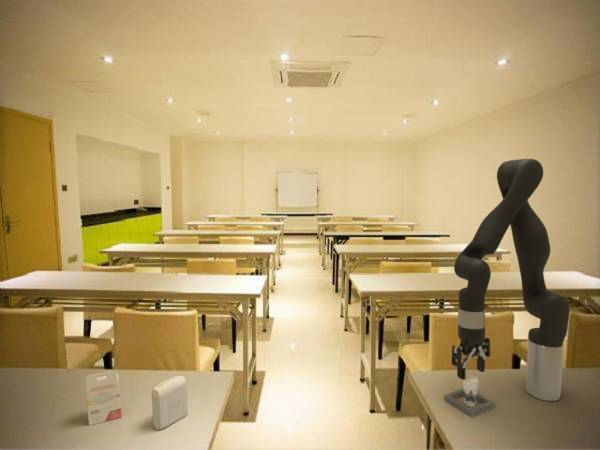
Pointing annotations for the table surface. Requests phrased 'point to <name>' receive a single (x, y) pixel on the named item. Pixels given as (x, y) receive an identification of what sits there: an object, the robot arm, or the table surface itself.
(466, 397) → the milkshake
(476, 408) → the grey square frame
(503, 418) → the table surface
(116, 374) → the ink cartridge box
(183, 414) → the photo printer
